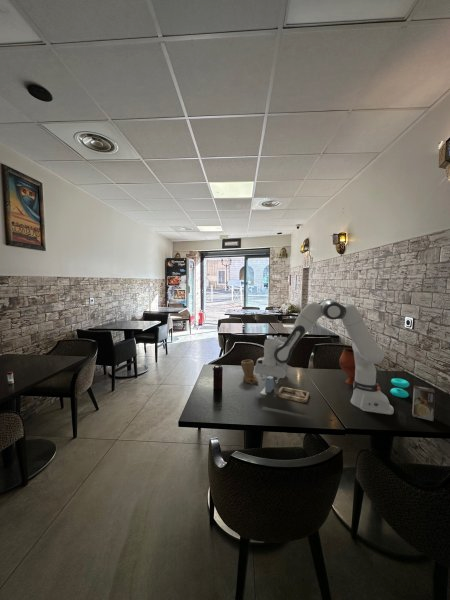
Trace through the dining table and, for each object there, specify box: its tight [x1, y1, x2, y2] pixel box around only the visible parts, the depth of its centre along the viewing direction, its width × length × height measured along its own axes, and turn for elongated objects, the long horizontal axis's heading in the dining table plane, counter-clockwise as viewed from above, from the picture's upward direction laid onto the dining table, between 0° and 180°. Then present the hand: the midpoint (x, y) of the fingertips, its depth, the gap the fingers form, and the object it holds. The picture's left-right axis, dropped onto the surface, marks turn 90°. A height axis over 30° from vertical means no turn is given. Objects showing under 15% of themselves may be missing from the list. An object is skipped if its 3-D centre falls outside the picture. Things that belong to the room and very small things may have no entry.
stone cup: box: [241, 359, 259, 385], centre depth 187 cm, size 15×12×15 cm
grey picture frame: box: [411, 385, 436, 422], centre depth 141 cm, size 9×6×16 cm
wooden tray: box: [276, 386, 310, 404], centre depth 161 cm, size 18×12×4 cm, turn 63°
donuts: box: [389, 378, 410, 399], centre depth 169 cm, size 10×10×10 cm
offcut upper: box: [294, 392, 306, 398], centre depth 159 cm, size 4×6×2 cm
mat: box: [259, 387, 268, 396], centre depth 169 cm, size 9×12×1 cm
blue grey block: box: [264, 375, 275, 394], centre depth 168 cm, size 4×7×9 cm, turn 153°
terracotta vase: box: [338, 347, 355, 386], centre depth 186 cm, size 19×19×25 cm
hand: (269, 381), depth 168 cm, fingers open, 8 cm apart
